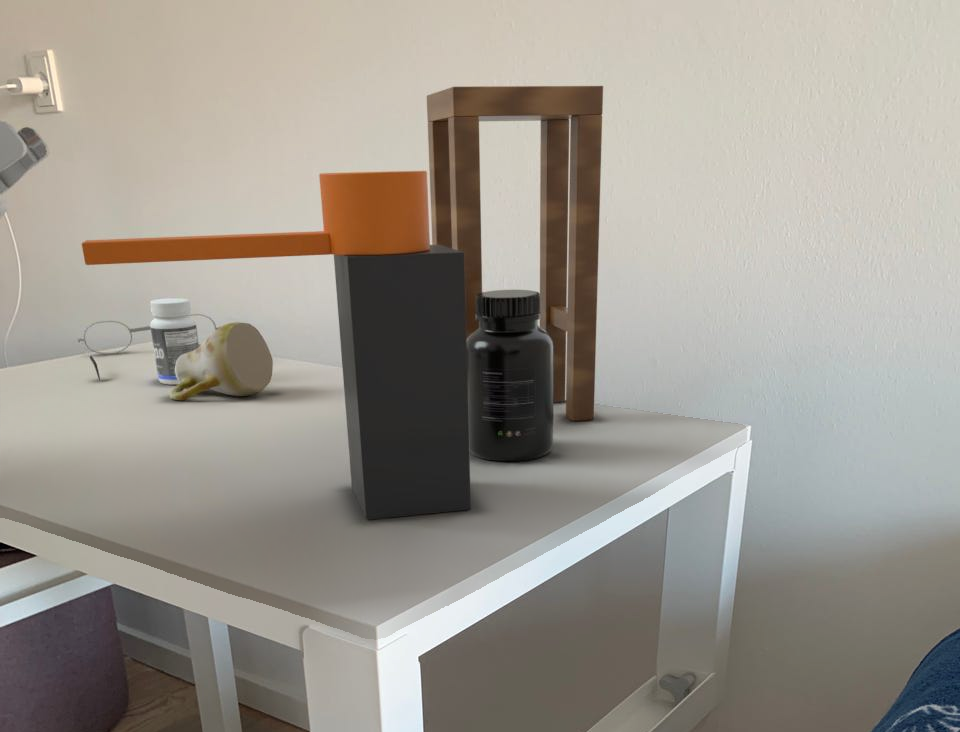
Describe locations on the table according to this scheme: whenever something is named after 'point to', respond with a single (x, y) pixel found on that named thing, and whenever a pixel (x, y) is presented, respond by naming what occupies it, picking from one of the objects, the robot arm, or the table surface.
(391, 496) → the charcoal tower block
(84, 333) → the eyeglasses
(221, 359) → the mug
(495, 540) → the table surface
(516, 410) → the supplement bottle
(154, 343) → the pill bottle
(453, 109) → the tall stand
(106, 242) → the measuring cup
